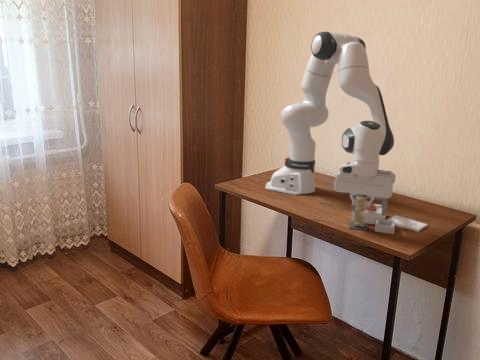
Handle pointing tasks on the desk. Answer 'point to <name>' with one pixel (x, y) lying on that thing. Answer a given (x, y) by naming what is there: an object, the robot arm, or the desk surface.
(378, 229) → the grey square tray
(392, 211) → the desk surface
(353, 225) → the pad
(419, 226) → the external hard drive
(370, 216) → the grey open box frame
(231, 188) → the desk surface
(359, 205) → the tan rectangular block
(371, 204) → the button
